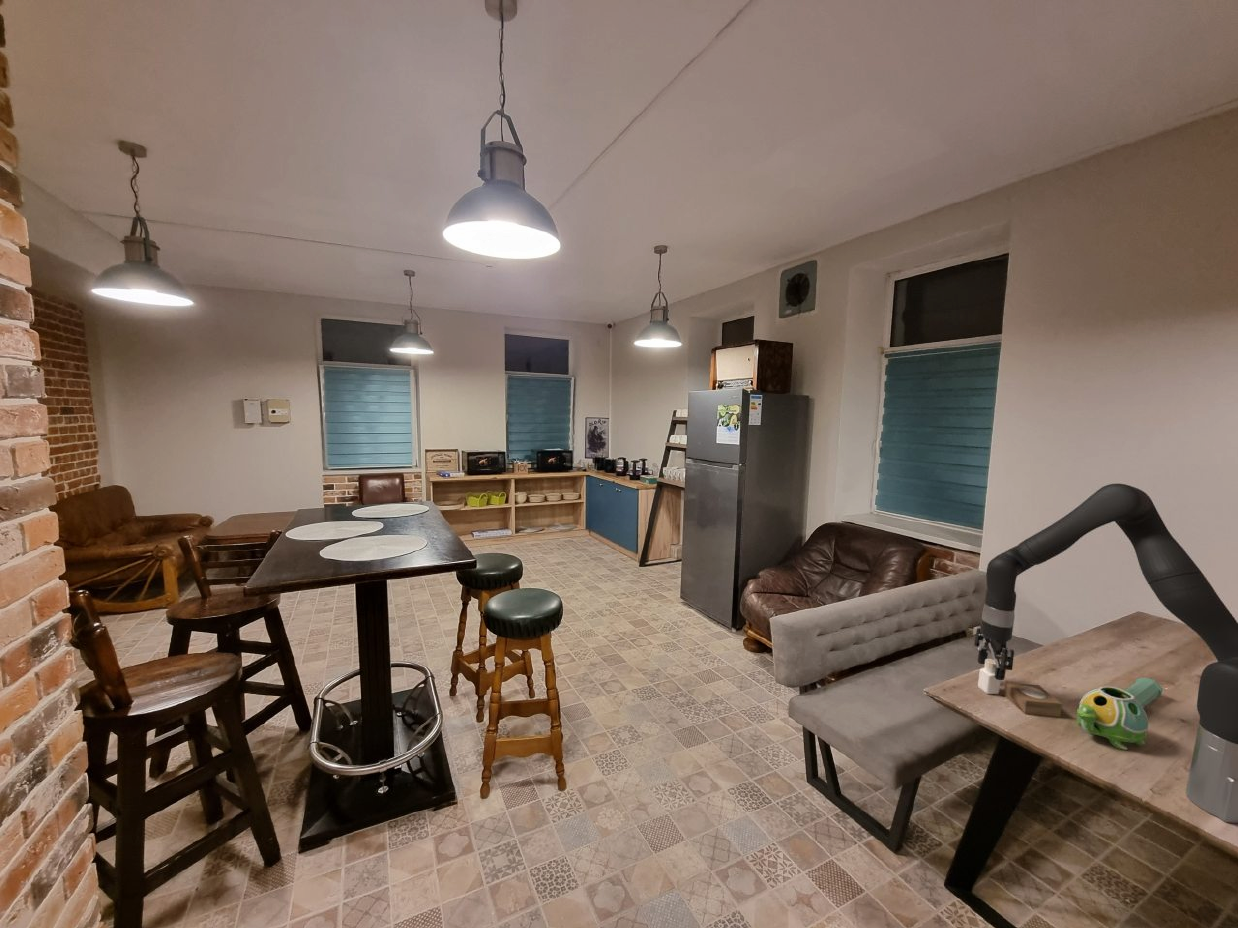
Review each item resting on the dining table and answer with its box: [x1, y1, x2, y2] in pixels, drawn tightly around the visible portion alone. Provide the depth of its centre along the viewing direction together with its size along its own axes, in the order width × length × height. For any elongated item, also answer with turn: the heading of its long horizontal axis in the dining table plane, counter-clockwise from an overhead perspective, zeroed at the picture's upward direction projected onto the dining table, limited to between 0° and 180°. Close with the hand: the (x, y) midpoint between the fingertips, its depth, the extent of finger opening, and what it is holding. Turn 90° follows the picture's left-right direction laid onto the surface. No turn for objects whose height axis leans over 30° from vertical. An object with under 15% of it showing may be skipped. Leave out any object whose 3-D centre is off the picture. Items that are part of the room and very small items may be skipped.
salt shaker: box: [977, 658, 1002, 695], centre depth 147 cm, size 4×4×10 cm
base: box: [1003, 681, 1063, 718], centre depth 141 cm, size 9×9×4 cm
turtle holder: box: [1076, 685, 1149, 751], centre depth 128 cm, size 12×18×12 cm
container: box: [1122, 676, 1163, 709], centre depth 141 cm, size 6×6×25 cm
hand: (990, 670), depth 147 cm, fingers open, 8 cm apart
